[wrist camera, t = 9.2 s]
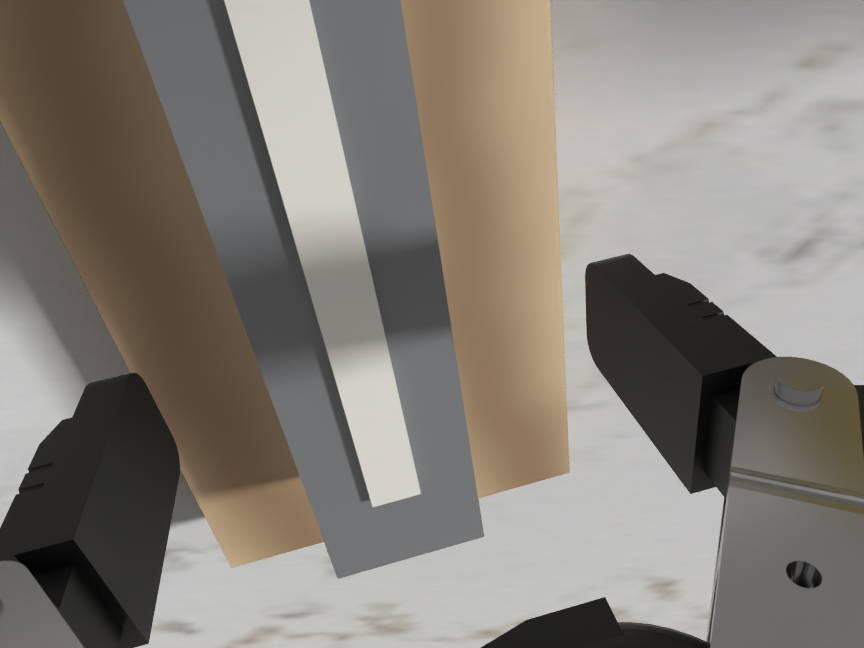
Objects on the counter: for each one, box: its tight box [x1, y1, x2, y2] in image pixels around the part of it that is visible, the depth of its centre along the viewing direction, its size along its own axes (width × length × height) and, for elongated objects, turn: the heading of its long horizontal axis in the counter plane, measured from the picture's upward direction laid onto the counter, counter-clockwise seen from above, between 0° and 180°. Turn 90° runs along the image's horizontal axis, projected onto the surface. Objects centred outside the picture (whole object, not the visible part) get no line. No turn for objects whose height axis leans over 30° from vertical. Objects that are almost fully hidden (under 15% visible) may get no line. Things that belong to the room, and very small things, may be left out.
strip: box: [123, 0, 484, 579], centre depth 15 cm, size 4×16×7 cm, turn 8°
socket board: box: [0, 0, 569, 568], centre depth 17 cm, size 12×22×2 cm, turn 9°
